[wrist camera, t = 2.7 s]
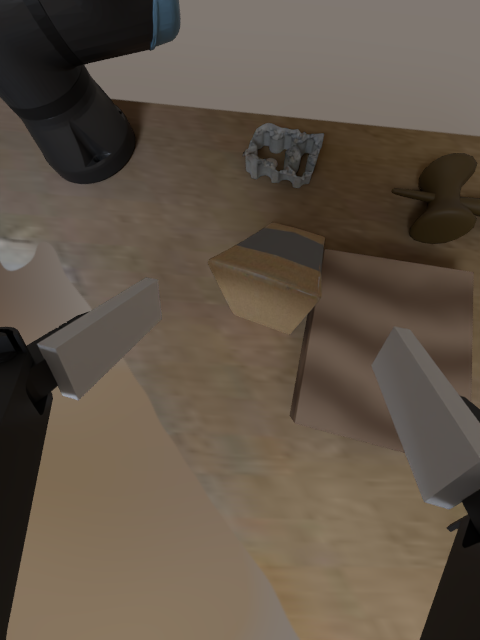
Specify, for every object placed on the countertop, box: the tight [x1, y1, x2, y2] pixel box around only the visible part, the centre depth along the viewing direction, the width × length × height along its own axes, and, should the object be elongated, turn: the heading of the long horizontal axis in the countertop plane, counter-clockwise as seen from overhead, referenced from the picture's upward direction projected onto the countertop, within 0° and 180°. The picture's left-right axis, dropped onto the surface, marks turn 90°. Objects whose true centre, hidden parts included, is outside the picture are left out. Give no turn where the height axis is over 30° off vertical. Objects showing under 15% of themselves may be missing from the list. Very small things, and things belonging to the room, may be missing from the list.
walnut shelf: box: [290, 249, 474, 453], centre depth 26 cm, size 20×16×4 cm
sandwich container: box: [208, 222, 325, 335], centre depth 24 cm, size 9×15×15 cm, turn 158°
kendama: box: [392, 153, 480, 244], centre depth 28 cm, size 6×10×20 cm
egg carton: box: [243, 123, 324, 188], centre depth 33 cm, size 11×8×4 cm
